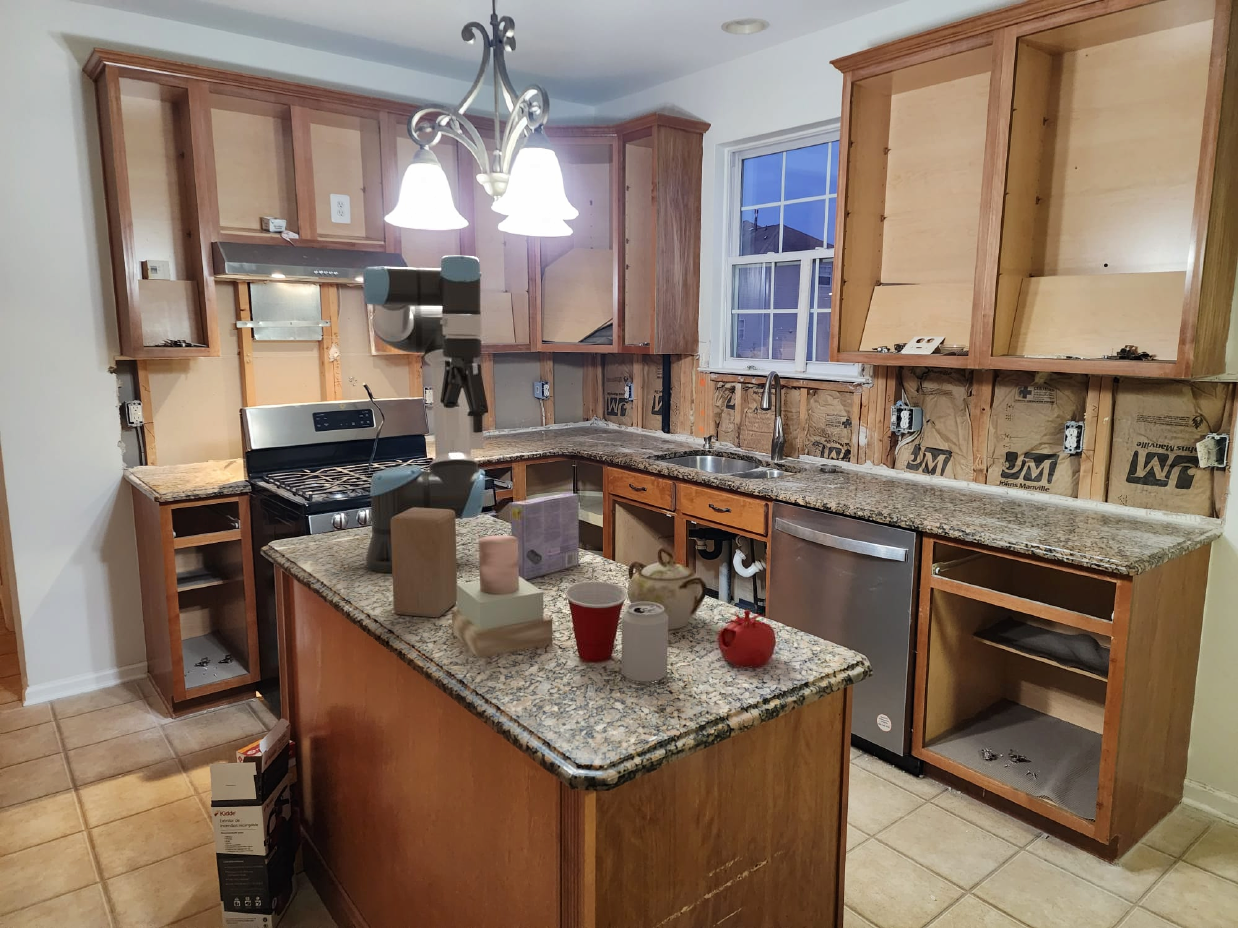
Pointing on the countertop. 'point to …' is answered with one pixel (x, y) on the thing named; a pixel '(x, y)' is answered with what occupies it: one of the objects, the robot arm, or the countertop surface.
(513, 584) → the pink rounded cylinder
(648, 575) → the sugar bowl
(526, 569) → the cake pan box
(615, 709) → the countertop surface
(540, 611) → the tower top
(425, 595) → the block
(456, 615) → the tower base
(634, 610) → the can
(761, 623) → the pomegranate
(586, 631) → the plastic cup
